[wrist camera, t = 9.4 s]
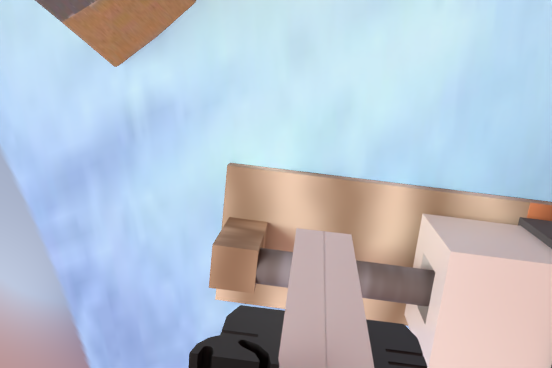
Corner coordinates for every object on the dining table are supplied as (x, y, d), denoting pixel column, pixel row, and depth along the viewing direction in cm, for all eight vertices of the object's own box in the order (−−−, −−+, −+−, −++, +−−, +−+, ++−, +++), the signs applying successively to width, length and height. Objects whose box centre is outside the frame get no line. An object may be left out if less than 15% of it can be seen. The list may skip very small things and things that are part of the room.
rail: (218, 293, 42) (196, 341, 35) (229, 162, 40) (209, 184, 32) (589, 343, 41) (652, 405, 33) (625, 211, 38) (702, 245, 31)
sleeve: (404, 314, 39) (426, 375, 31) (422, 213, 37) (451, 251, 29) (498, 327, 38) (544, 392, 31) (520, 225, 37) (576, 267, 29)
